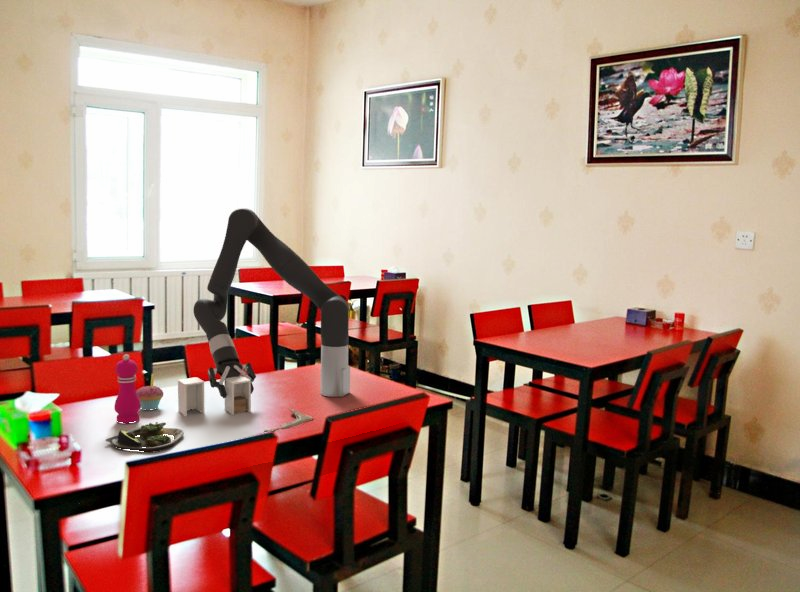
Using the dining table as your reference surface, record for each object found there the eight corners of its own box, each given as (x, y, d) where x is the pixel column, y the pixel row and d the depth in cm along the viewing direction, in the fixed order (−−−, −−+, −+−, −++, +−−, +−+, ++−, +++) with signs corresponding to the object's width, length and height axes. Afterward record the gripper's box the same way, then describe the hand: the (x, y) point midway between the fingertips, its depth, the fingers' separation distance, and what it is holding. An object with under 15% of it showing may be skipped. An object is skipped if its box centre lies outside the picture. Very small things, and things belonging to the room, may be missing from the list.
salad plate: (138, 426, 200) (138, 411, 199) (196, 431, 197) (196, 415, 196) (98, 450, 181) (98, 433, 181) (161, 456, 178) (161, 439, 178)
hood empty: (178, 411, 214) (177, 379, 212) (197, 408, 217) (196, 377, 216) (185, 416, 209) (184, 384, 207) (204, 413, 212) (204, 381, 211)
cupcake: (169, 407, 217) (168, 369, 216) (149, 414, 210) (148, 376, 208) (149, 403, 221) (148, 366, 219) (128, 410, 213) (127, 372, 212)
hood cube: (224, 409, 216) (224, 378, 215) (242, 406, 220) (242, 375, 219) (232, 414, 212) (232, 382, 210) (250, 411, 215) (250, 380, 214)
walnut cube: (229, 410, 216) (229, 397, 216) (241, 408, 219) (241, 395, 218) (234, 413, 213) (234, 401, 212) (246, 411, 215) (246, 399, 215)
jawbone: (317, 418, 213) (318, 412, 213) (292, 442, 194) (292, 435, 193) (290, 413, 215) (291, 406, 215) (262, 435, 196) (263, 429, 195)
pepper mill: (146, 418, 206) (144, 353, 203) (129, 426, 199) (127, 358, 196) (126, 415, 208) (124, 350, 205) (109, 422, 201) (107, 355, 198)
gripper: (205, 347, 215) (219, 392, 208) (247, 342, 224) (263, 385, 216) (199, 360, 220) (213, 404, 213) (241, 355, 229) (256, 397, 221)
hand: (238, 394), depth 215 cm, fingers open, 8 cm apart
